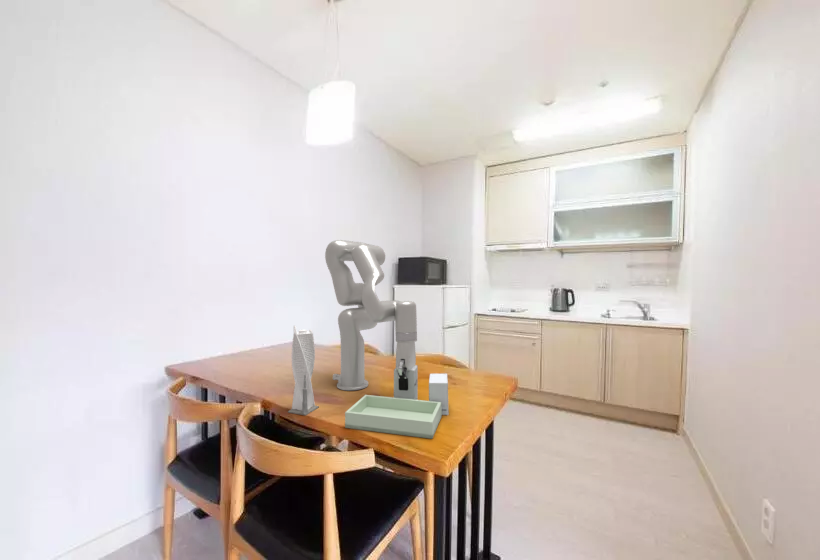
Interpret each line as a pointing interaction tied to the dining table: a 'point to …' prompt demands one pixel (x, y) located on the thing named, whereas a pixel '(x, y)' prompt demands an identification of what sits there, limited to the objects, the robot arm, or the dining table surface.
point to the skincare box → (439, 390)
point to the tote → (395, 416)
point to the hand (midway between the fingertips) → (407, 385)
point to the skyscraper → (303, 371)
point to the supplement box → (412, 385)
